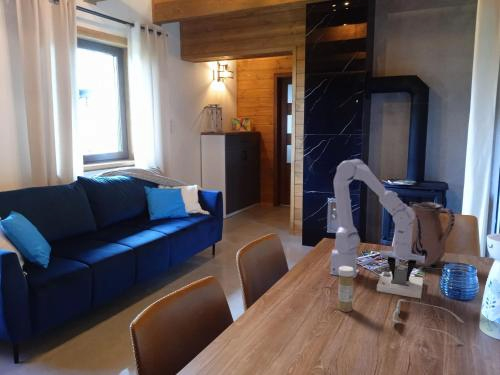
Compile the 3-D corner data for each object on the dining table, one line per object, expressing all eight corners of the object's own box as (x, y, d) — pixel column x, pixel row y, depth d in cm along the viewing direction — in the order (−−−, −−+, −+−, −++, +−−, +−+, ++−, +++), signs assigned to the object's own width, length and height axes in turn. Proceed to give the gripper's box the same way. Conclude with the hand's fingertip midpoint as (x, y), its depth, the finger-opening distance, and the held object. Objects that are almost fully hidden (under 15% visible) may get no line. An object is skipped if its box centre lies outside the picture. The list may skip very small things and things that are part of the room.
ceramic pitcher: (409, 253, 175) (413, 198, 171) (460, 265, 160) (465, 205, 156) (390, 262, 164) (393, 203, 160) (442, 276, 148) (447, 211, 144)
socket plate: (376, 291, 136) (377, 283, 135) (382, 276, 148) (382, 270, 148) (420, 298, 130) (421, 291, 129) (422, 283, 142) (423, 276, 142)
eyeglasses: (399, 309, 124) (399, 297, 123) (464, 322, 115) (465, 309, 114) (391, 331, 110) (391, 318, 110) (464, 348, 102) (465, 334, 101)
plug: (393, 285, 138) (394, 267, 137) (394, 281, 141) (395, 264, 140) (405, 287, 136) (407, 269, 135) (406, 283, 140) (407, 265, 138)
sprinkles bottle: (346, 304, 126) (347, 264, 124) (355, 310, 122) (357, 269, 120) (334, 307, 124) (335, 266, 122) (343, 313, 120) (345, 271, 118)
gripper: (379, 242, 136) (377, 279, 138) (425, 248, 130) (422, 286, 132) (382, 237, 142) (380, 273, 144) (425, 242, 136) (423, 279, 138)
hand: (400, 279), depth 139 cm, fingers closed on plug, 4 cm apart
